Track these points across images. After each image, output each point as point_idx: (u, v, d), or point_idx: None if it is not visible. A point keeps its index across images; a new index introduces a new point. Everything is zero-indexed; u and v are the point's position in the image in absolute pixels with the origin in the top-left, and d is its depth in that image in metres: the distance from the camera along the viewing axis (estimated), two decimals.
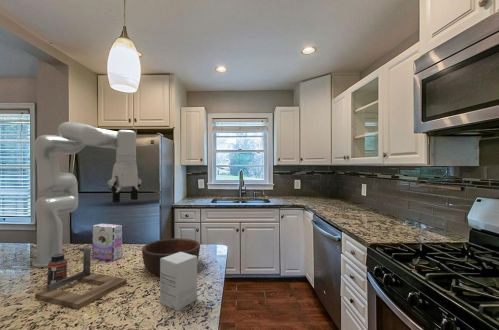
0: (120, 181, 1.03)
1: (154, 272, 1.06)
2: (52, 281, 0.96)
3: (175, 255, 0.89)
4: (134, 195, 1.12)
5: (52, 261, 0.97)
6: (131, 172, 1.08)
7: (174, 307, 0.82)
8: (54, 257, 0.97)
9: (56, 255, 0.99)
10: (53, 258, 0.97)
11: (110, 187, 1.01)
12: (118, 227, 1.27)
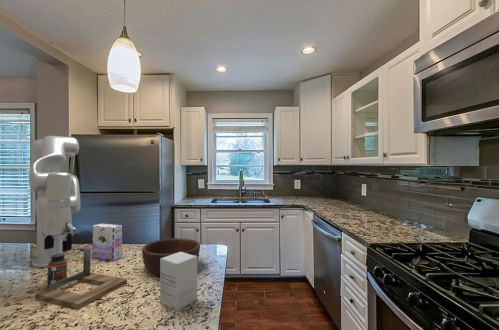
0: None
1: (154, 272, 1.06)
2: (52, 281, 0.96)
3: (175, 255, 0.89)
4: (51, 243, 1.01)
5: (52, 261, 0.97)
6: None
7: (174, 307, 0.82)
8: (54, 257, 0.97)
9: (56, 255, 0.99)
10: (53, 258, 0.97)
11: (72, 234, 0.96)
12: (118, 227, 1.27)
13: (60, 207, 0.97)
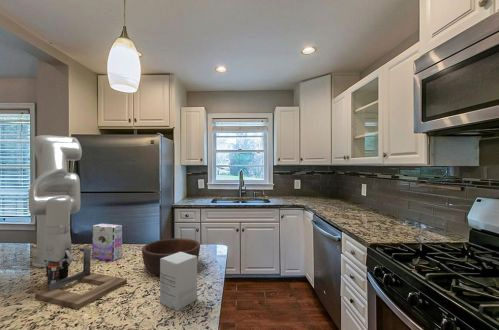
0: None
1: (154, 272, 1.06)
2: (52, 281, 0.96)
3: (175, 255, 0.89)
4: None
5: (52, 261, 0.97)
6: None
7: (174, 307, 0.82)
8: None
9: None
10: None
11: (68, 263, 0.97)
12: (118, 227, 1.27)
13: (59, 233, 0.97)
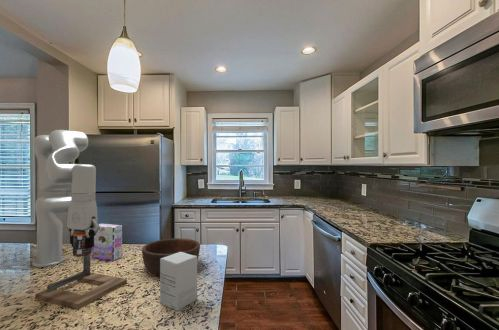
0: None
1: (154, 272, 1.06)
2: (78, 250, 0.92)
3: (175, 255, 0.89)
4: None
5: (78, 230, 0.93)
6: None
7: (174, 307, 0.82)
8: None
9: None
10: None
11: (95, 232, 0.93)
12: (118, 227, 1.27)
13: (86, 200, 0.93)
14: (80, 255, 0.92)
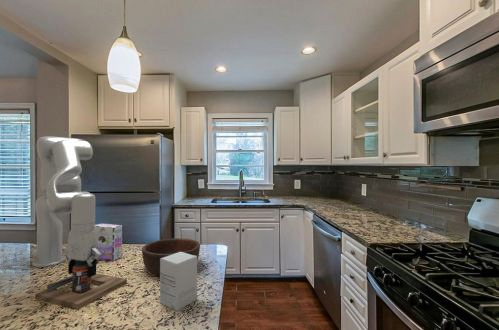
0: None
1: (154, 272, 1.06)
2: (77, 286, 0.92)
3: (175, 255, 0.89)
4: None
5: (77, 265, 0.93)
6: None
7: (174, 307, 0.82)
8: (79, 261, 0.93)
9: None
10: (78, 262, 0.93)
11: (97, 260, 0.92)
12: (118, 227, 1.27)
13: (85, 231, 0.93)
14: (79, 291, 0.92)
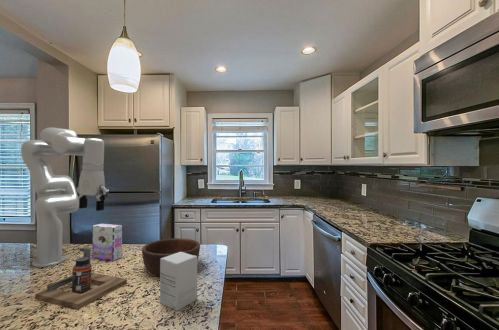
0: None
1: (154, 272, 1.06)
2: (77, 286, 0.92)
3: (175, 255, 0.89)
4: (85, 203, 1.10)
5: (77, 265, 0.93)
6: None
7: (174, 307, 0.82)
8: (79, 261, 0.93)
9: (81, 259, 0.95)
10: (78, 262, 0.93)
11: (105, 196, 1.05)
12: (118, 227, 1.27)
13: (95, 170, 1.05)
14: (79, 291, 0.92)
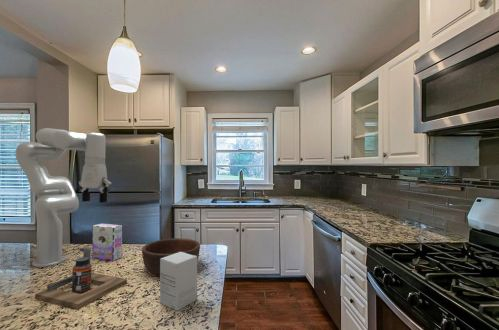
0: None
1: (154, 272, 1.06)
2: (77, 286, 0.92)
3: (175, 255, 0.89)
4: (88, 196, 1.13)
5: (77, 265, 0.93)
6: None
7: (174, 307, 0.82)
8: (79, 261, 0.93)
9: (81, 259, 0.95)
10: (78, 262, 0.93)
11: (108, 188, 1.08)
12: (118, 227, 1.27)
13: (97, 163, 1.08)
14: (79, 291, 0.92)
